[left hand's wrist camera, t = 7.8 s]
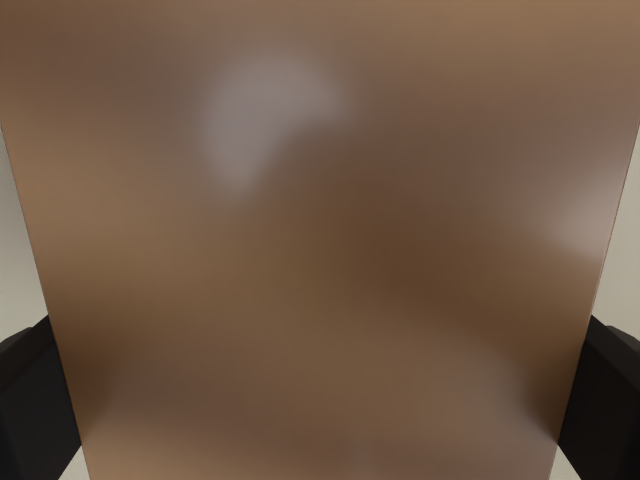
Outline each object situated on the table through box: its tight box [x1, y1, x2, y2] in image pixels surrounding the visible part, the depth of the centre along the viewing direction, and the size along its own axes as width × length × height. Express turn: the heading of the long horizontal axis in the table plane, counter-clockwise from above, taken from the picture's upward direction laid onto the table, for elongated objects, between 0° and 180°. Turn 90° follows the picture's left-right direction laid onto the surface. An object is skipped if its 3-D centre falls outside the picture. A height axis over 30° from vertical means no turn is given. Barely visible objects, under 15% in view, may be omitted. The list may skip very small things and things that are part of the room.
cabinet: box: [0, 0, 640, 480], centre depth 11 cm, size 20×11×10 cm, turn 0°
